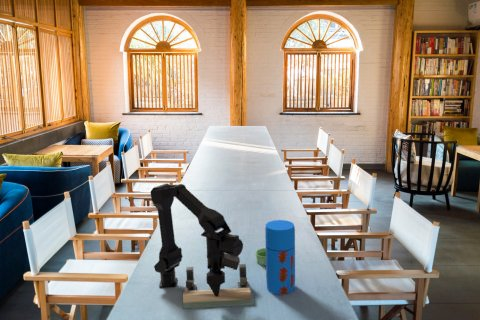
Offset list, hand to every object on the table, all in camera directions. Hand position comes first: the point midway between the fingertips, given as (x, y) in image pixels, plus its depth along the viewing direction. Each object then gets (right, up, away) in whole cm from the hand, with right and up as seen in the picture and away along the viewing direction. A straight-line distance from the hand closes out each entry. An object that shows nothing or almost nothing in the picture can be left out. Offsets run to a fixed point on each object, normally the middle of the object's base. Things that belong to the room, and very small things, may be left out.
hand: (216, 289), depth 162 cm
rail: (0, -4, +1) cm, 4 cm away
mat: (+1, -4, +1) cm, 4 cm away
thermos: (+24, -2, +9) cm, 25 cm away
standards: (0, -2, +9) cm, 9 cm away
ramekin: (+20, +3, +31) cm, 37 cm away
